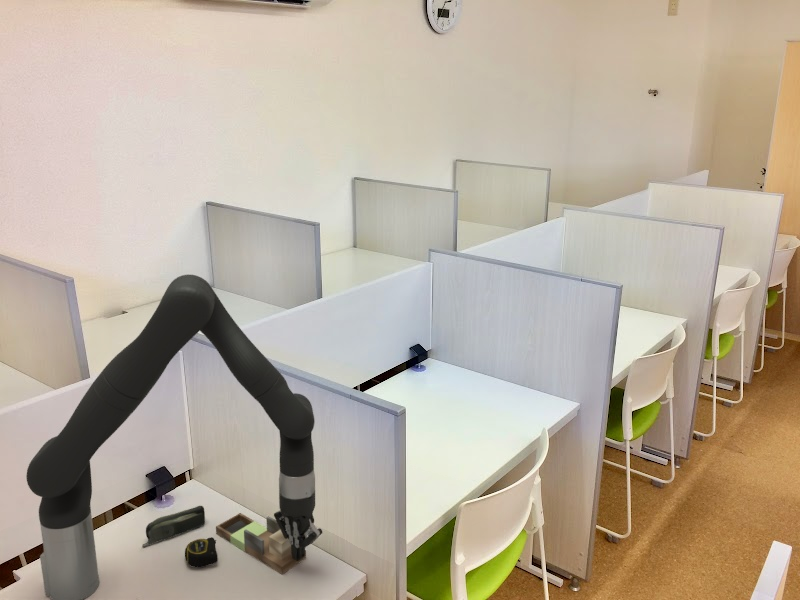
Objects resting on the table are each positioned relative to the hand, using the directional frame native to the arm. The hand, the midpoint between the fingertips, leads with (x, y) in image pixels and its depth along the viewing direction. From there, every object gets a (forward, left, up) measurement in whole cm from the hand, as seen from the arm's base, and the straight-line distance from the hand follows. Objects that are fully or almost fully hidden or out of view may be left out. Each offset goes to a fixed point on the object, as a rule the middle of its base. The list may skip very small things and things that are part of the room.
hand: (298, 558), depth 147 cm
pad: (-14, +9, -3) cm, 16 cm away
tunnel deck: (-11, +7, -3) cm, 13 cm away
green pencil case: (-32, +9, -3) cm, 33 cm away
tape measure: (-21, +1, -3) cm, 22 cm away
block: (-4, +3, -1) cm, 5 cm away
